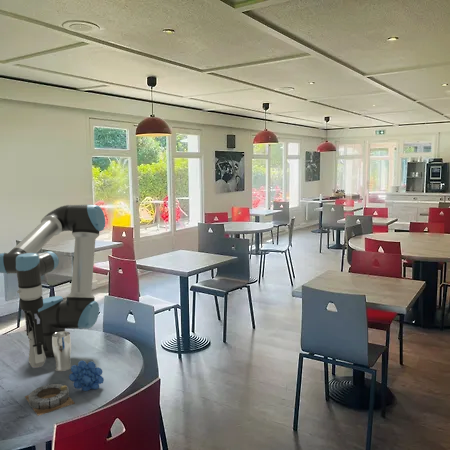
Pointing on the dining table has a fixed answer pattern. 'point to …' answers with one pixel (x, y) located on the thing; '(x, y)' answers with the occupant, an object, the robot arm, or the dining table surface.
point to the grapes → (86, 375)
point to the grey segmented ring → (48, 403)
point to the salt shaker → (32, 353)
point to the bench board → (40, 412)
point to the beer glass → (62, 350)
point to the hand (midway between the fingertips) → (37, 358)
